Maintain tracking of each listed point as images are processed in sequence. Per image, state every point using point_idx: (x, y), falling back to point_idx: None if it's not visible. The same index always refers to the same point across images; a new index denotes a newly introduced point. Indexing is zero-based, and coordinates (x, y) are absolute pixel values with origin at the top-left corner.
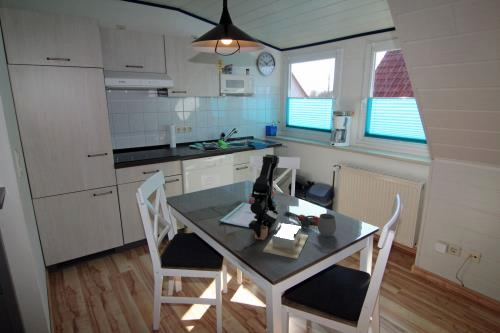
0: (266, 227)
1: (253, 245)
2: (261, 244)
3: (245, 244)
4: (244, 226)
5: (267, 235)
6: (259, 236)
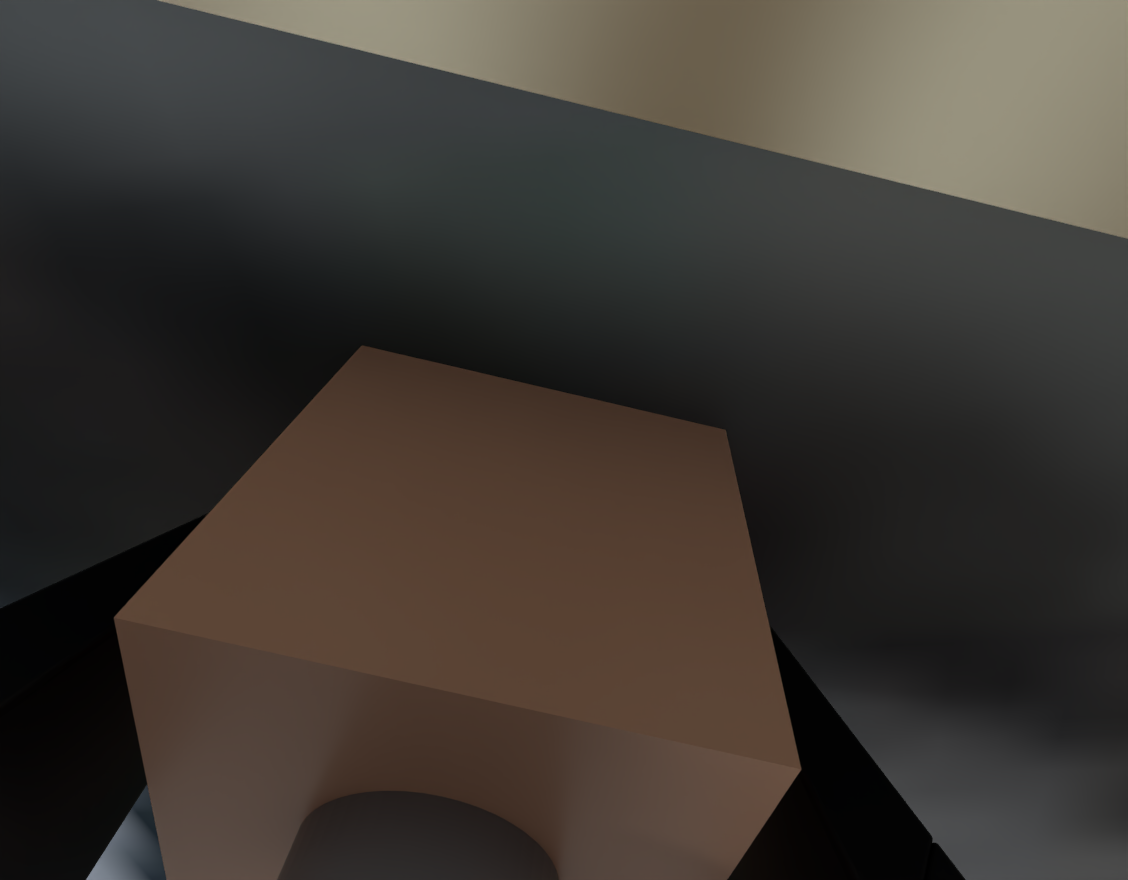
0: (264, 668)
1: (1091, 678)
2: (1070, 484)
3: (994, 819)
4: (135, 852)
5: (361, 346)
6: (793, 673)
